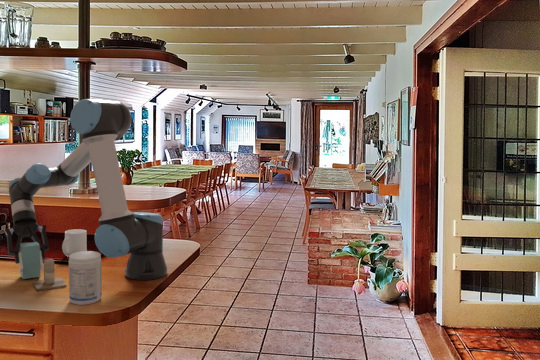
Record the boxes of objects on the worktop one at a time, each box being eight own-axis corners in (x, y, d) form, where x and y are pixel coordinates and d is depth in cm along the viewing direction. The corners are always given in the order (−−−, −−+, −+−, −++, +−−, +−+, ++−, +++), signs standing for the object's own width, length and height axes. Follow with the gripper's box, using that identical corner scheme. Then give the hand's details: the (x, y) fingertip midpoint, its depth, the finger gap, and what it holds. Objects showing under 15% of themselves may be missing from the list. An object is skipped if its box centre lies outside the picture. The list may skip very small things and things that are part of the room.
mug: (71, 261, 186) (71, 236, 185) (54, 259, 189) (53, 234, 187) (90, 254, 198) (90, 230, 197) (74, 252, 200) (74, 228, 199)
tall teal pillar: (20, 274, 167) (19, 243, 166) (37, 272, 170) (37, 241, 169) (22, 279, 162) (21, 247, 161) (40, 276, 166) (39, 245, 164)
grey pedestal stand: (32, 283, 161) (32, 258, 160) (60, 278, 166) (60, 255, 165) (37, 291, 153) (36, 265, 152) (66, 286, 158) (65, 261, 157)
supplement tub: (80, 293, 153) (79, 249, 151) (107, 296, 151) (107, 251, 150) (62, 304, 143) (61, 257, 141) (91, 307, 142) (91, 260, 140)
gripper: (49, 218, 182) (59, 270, 171) (-6, 222, 172) (0, 278, 160) (52, 207, 177) (62, 260, 166) (-5, 211, 167) (1, 267, 155)
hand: (31, 269), depth 163 cm, fingers closed on tall teal pillar, 6 cm apart
